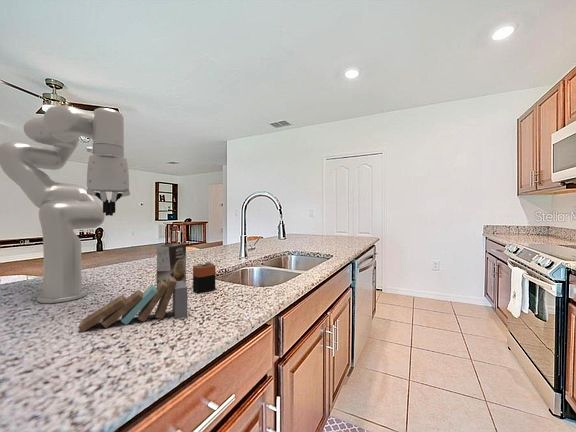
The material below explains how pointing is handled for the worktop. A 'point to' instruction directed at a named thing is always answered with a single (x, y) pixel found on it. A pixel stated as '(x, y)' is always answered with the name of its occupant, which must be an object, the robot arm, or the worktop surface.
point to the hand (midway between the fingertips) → (109, 215)
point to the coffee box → (171, 262)
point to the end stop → (179, 300)
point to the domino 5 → (165, 298)
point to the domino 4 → (153, 301)
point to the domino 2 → (123, 308)
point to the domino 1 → (102, 313)
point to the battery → (204, 277)
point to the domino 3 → (139, 304)
